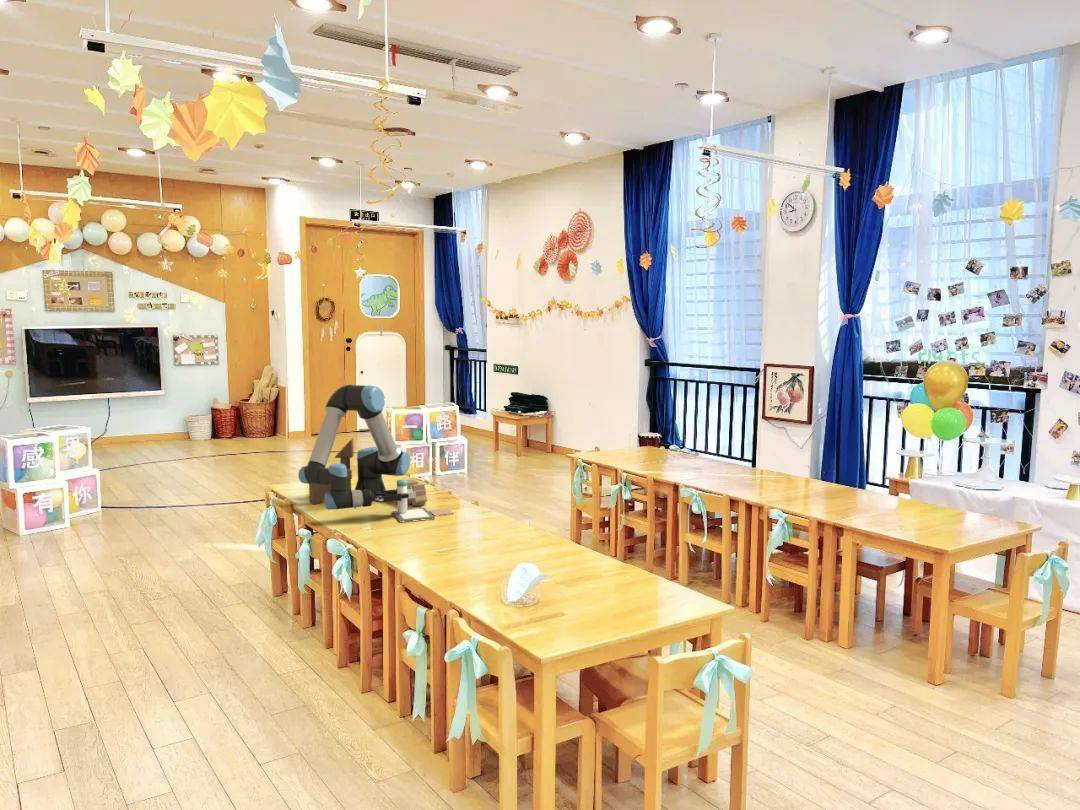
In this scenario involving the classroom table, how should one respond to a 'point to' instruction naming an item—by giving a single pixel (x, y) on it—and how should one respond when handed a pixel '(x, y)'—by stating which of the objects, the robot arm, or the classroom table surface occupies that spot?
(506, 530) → the classroom table surface
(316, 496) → the wooden blocks
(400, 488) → the white bottle
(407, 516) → the writing board
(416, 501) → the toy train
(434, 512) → the coaster
